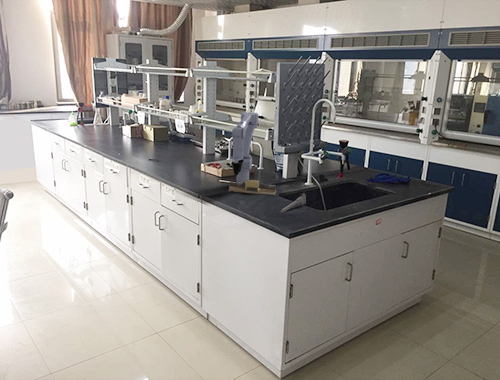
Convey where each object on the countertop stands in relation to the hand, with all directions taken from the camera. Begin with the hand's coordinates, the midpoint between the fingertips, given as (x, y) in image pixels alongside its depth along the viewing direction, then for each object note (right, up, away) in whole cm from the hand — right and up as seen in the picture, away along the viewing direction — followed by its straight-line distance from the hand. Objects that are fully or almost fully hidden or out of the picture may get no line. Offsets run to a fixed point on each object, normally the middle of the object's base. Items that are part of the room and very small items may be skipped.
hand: (237, 173), depth 232 cm
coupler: (+8, -9, 0) cm, 12 cm away
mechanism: (+8, -10, 0) cm, 13 cm away
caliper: (+29, -19, -26) cm, 43 cm away
